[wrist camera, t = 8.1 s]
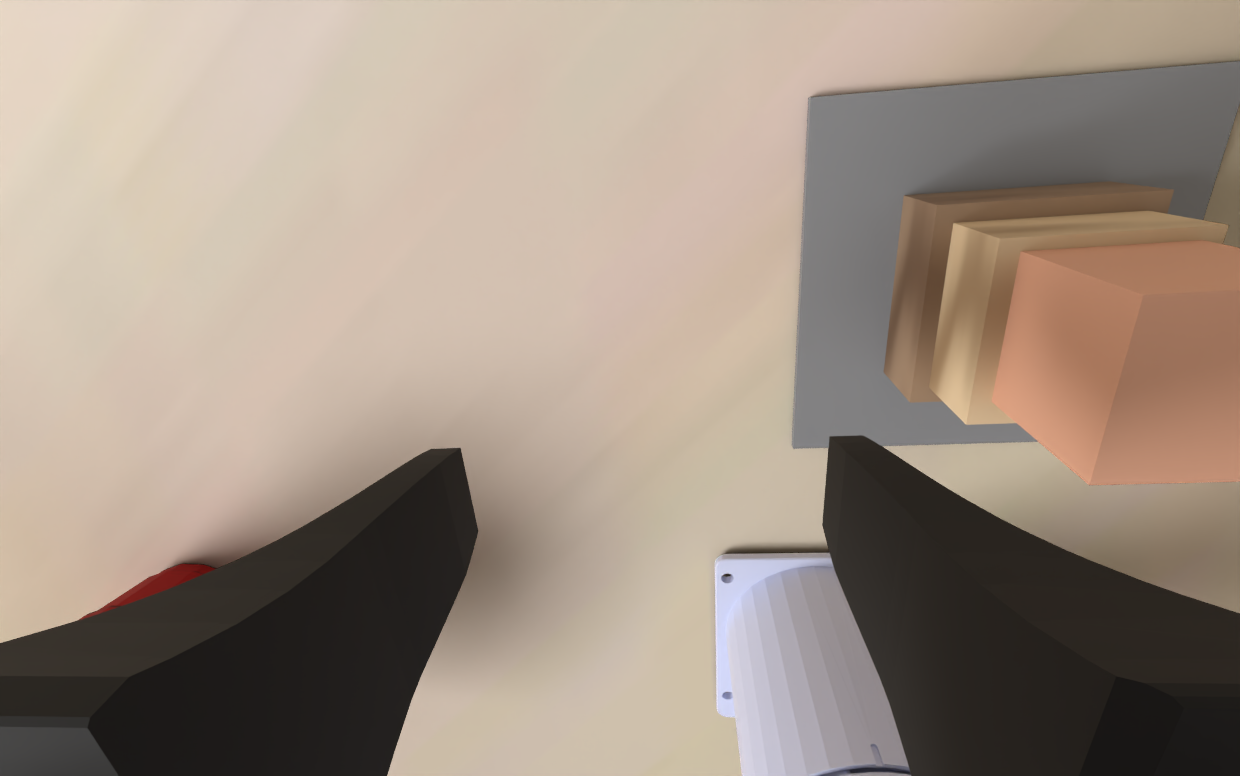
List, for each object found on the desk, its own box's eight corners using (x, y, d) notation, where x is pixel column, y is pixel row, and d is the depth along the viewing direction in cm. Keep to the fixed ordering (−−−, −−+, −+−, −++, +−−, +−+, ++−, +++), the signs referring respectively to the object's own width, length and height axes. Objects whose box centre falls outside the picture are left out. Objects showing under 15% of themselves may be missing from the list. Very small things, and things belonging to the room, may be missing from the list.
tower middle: (1101, 381, 18) (1164, 418, 16) (928, 387, 18) (965, 425, 16) (1148, 210, 16) (1229, 224, 14) (953, 222, 16) (999, 238, 14)
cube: (1202, 239, 14) (1394, 281, 10) (1153, 395, 15) (1304, 480, 12) (1020, 251, 14) (1143, 294, 10) (991, 401, 16) (1089, 484, 12)
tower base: (1064, 365, 20) (1114, 395, 18) (883, 372, 21) (910, 402, 19) (1109, 181, 18) (1173, 189, 16) (903, 195, 18) (937, 205, 16)
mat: (1128, 434, 21) (1134, 438, 21) (791, 444, 23) (793, 448, 22) (1243, 60, 17) (1253, 60, 16) (808, 97, 18) (810, 97, 18)
